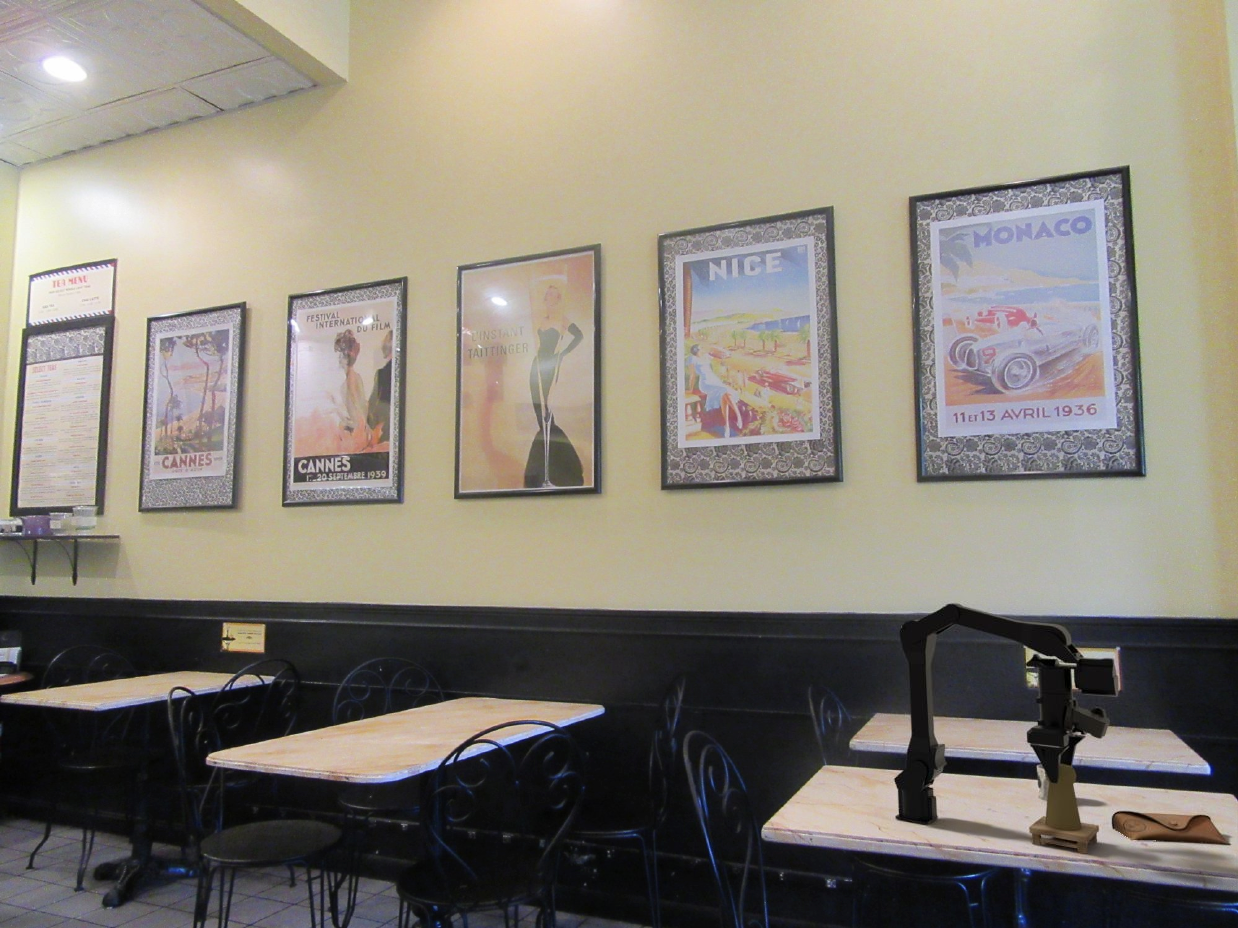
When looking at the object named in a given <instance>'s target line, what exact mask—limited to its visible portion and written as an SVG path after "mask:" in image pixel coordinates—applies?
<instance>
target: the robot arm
mask: <svg viewBox="0 0 1238 928" xmlns="http://www.w3.org/2000/svg"><path fill="white" fill-rule="evenodd" d="M955 625H957V626H958V625H959V626H962V627H965V628H969V629H972V630H975V631H978V632H979V631H980V632H983V633H987V634H991V635H995V636H997V637H1002V638H1005V639H1007V640H1008V639H1009V640H1012V641H1015V642H1017V643H1018V644H1021V645H1022V646H1024V647H1025V648H1028V649H1030V650H1031V651H1034V652H1037V653H1034V654H1033V655H1032V657H1031V658H1030V659H1029V660H1028V661H1027V662H1025V666H1026V667H1028V668H1037V681H1038V696H1037V697H1036V698H1035V703H1036V704H1037V705H1038V704H1039V719H1037V725H1034V726H1032V727H1031V728H1030V729H1028V730H1027V731H1026V742H1027V744H1029V746H1030V748H1031V749H1032V750H1033V751H1034V753H1035V755H1036V757H1037V759H1038V760H1039V763H1040V765H1042V766H1043V768H1044V770H1045V772H1046V774H1047V776H1048V778H1049V780H1050V782H1051V783H1058V777H1059V768H1060V764H1065V765H1069V766H1071V767H1073V763H1074V758H1075V754H1076V748H1077V745H1078V744H1079V743H1081V742H1082V741H1083V740H1084V739H1085V738H1086V737H1087V736H1086V735H1087V734H1089V735H1090V736H1092V737H1093V738H1096V739H1102V738H1103V737H1105V736H1106V733H1107V731H1108V728H1109V726H1110V725H1111V724H1110V722H1111V720H1110V718H1109V717H1107V713H1106V709H1104V708H1101V707H1099V706H1095V707H1094V708H1092V709H1091V710H1089V709H1088V708H1082V707H1080V706H1079V701H1078V699H1077V698H1076V697H1074V695H1073V693H1074V692H1073V681H1074V687H1075V689H1077V690H1078V691H1081V694H1082V695H1087V696H1098V697H1099V696H1100V697H1101V696H1102V697H1114V698H1118V696H1119V689H1120V686H1119V675H1118V674H1117V669H1116V665H1115V659H1114V658H1113V657H1111V658H1110V657H1103V658H1094V657H1090V658H1089V657H1084V655H1083V654H1082V653H1081V651H1079V650H1078V648H1076V646H1075V645H1074V644H1073V643H1072V636H1071V633H1070V632H1069V631H1068V630H1067V628H1066V627H1064V626H1062V625H1060V624H1057V623H1056V624H1055V623H1045V622H1037V621H1035V622H1033V621H1023V620H1017V619H1013V618H1010V617H1005V616H1002V615H997V614H994V613H991V612H987V611H983V610H979V609H976V608H972V607H967V606H964V605H962V604H960V603H956V602H954V603H951V602H950V603H947V604H945V605H944V606H942V608H940V609H938V610H936V611H934V612H932V613H930V614H928V615H926V616H924V617H922V618H920V619H914V620H912V619H911V620H907V621H906V622H904V623H903V624H902V625H901V626H900V629H899V632H898V636H899V639H900V640H899V641H900V645H901V650H902V653H903V655H904V657H905V660H906V663H907V667H908V668H907V669H908V687H909V705H910V706H909V708H910V709H909V710H910V729H911V735H910V739H909V743H908V747H907V750H906V756H905V764H904V765H905V766H904V769H903V770H902V771H901V772H899V774H898V775H896V776H895V777H894V778H893V779H894V784H895V785H896V786H895V787H896V789H897V801H898V803H897V804H898V805H897V806H898V814H897V815H895V819H896V820H900V821H901V820H902V821H907V822H912V823H917V824H922V825H928V824H930V823H931V822H934V821H935V820H937V819H938V818H939V816H938V810H937V809H938V808H937V807H938V806H937V805H938V804H937V796H936V795H935V793H934V787H930V786H932V785H934V783H935V780H936V778H938V777H939V776H940V775H941V774H942V773H943V770H944V767H945V766H946V765H947V764H948V763H947V761H946V756H945V752H946V744H945V743H938V740H937V737H936V735H935V725H934V722H935V721H934V703H933V684H932V683H933V682H932V661H933V658H934V655H935V650H936V645H937V636H939V635H940V634H943V633H944V632H945V631H947V630H949V629H950V628H952V627H953V626H955ZM1039 654H1041V655H1043V656H1046V657H1050V658H1045V657H1043V658H1042V657H1041V656H1040V655H1039ZM1053 657H1055V658H1053ZM1059 660H1060V661H1061V662H1063V663H1064V664H1063V663H1060V661H1059ZM1072 670H1073V677H1072ZM1072 678H1073V679H1072ZM1078 733H1080V734H1078Z"/></svg>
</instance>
